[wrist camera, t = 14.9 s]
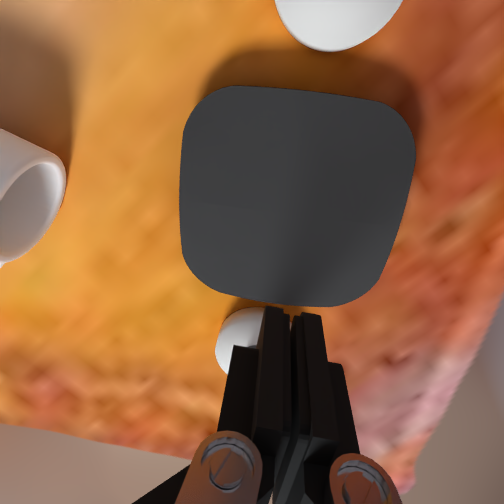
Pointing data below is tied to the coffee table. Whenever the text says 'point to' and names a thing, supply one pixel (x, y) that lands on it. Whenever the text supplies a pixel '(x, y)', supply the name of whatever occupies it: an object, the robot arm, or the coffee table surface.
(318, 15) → the post
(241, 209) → the media streaming box
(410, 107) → the coffee table surface
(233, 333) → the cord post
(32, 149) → the mug
